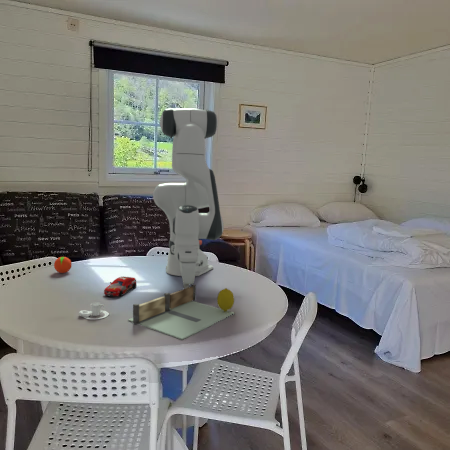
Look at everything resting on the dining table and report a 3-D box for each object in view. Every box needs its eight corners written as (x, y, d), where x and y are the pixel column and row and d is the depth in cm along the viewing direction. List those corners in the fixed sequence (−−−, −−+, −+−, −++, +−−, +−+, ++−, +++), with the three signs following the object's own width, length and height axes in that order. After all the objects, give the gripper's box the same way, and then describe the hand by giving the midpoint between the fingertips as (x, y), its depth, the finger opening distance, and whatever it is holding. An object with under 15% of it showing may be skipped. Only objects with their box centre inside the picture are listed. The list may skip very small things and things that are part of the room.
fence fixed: (166, 309, 144) (166, 292, 143) (170, 310, 143) (170, 293, 142) (131, 323, 131) (131, 304, 130) (136, 324, 130) (135, 306, 129)
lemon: (236, 313, 142) (236, 290, 141) (220, 315, 140) (220, 291, 139) (230, 307, 147) (231, 285, 146) (214, 309, 145) (215, 286, 144)
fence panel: (171, 309, 143) (171, 293, 142) (168, 307, 144) (168, 292, 143) (196, 299, 153) (196, 285, 153) (192, 298, 154) (193, 284, 153)
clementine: (70, 275, 180) (70, 258, 179) (52, 276, 178) (52, 259, 177) (72, 270, 188) (72, 254, 186) (55, 270, 186) (55, 254, 185)
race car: (117, 299, 154) (116, 286, 153) (100, 297, 156) (100, 284, 155) (139, 286, 169) (139, 274, 168) (124, 284, 171) (124, 272, 170)
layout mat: (183, 299, 155) (183, 298, 155) (234, 314, 143) (234, 312, 143) (127, 321, 134) (127, 319, 134) (181, 340, 121) (181, 338, 121)
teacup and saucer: (75, 319, 135) (75, 306, 134) (87, 310, 143) (87, 298, 142) (102, 322, 134) (101, 309, 133) (113, 313, 141) (112, 301, 141)
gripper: (176, 245, 164) (175, 280, 166) (179, 258, 144) (179, 298, 147) (192, 245, 165) (192, 280, 168) (198, 258, 145) (197, 297, 148)
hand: (186, 289), depth 157 cm, fingers closed
